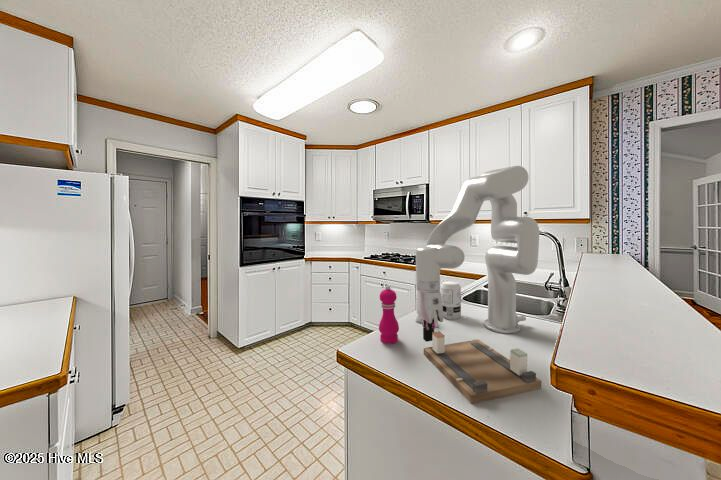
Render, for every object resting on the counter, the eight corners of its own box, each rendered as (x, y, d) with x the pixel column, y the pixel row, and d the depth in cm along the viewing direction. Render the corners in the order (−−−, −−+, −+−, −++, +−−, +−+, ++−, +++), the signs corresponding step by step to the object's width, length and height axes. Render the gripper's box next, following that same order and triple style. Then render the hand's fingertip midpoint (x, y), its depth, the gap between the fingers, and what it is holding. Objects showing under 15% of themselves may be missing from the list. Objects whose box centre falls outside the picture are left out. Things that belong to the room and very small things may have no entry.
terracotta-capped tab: (432, 349, 84) (432, 332, 83) (439, 347, 84) (439, 331, 84) (437, 353, 81) (437, 336, 80) (444, 352, 81) (444, 335, 81)
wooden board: (423, 354, 86) (423, 342, 86) (478, 345, 91) (478, 333, 90) (471, 403, 63) (471, 387, 62) (541, 388, 67) (541, 373, 67)
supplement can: (438, 313, 121) (438, 280, 120) (457, 313, 121) (457, 280, 120) (443, 320, 113) (443, 285, 112) (463, 319, 113) (463, 284, 112)
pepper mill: (398, 345, 93) (397, 288, 91) (377, 343, 94) (376, 287, 93) (399, 335, 100) (398, 282, 98) (380, 334, 101) (378, 282, 100)
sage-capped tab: (510, 369, 71) (510, 349, 71) (517, 367, 72) (518, 348, 72) (519, 375, 69) (519, 355, 68) (527, 374, 69) (527, 353, 69)
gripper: (451, 289, 81) (451, 349, 82) (427, 279, 95) (428, 329, 97) (428, 292, 79) (429, 352, 80) (407, 281, 93) (408, 332, 95)
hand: (428, 339), depth 88 cm, fingers closed
